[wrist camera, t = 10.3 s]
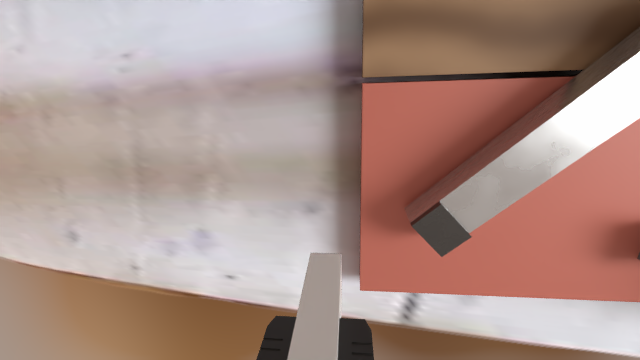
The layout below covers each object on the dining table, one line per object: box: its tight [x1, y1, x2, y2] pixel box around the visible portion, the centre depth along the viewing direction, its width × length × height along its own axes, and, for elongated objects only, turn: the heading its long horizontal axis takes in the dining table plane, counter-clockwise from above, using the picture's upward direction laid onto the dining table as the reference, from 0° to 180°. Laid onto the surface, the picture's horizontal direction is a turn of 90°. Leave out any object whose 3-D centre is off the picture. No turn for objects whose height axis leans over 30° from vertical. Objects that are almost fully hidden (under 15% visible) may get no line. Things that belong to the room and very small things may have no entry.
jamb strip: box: [362, 0, 640, 77], centre depth 23 cm, size 7×30×3 cm, turn 92°
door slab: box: [360, 76, 640, 302], centre depth 27 cm, size 22×30×6 cm
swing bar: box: [405, 27, 640, 257], centre depth 22 cm, size 26×5×4 cm, turn 135°
